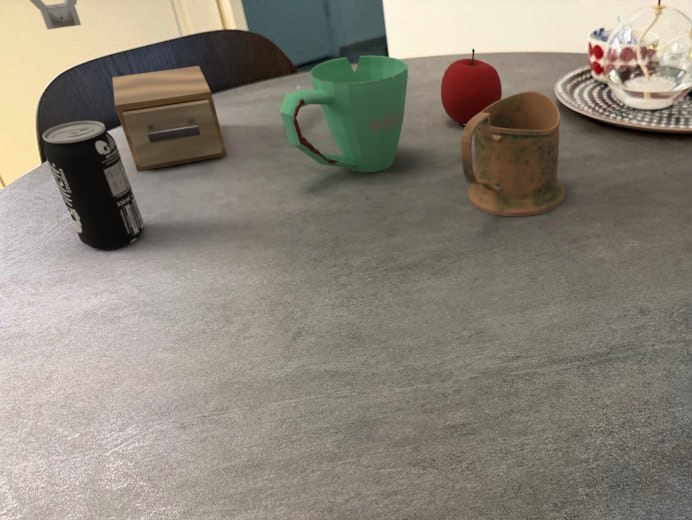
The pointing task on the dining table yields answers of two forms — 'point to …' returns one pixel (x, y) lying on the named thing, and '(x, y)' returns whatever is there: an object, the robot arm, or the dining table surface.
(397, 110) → the mug
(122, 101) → the cabinet
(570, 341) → the dining table surface
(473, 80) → the apple
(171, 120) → the drawer
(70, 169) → the beverage can
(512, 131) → the mug
